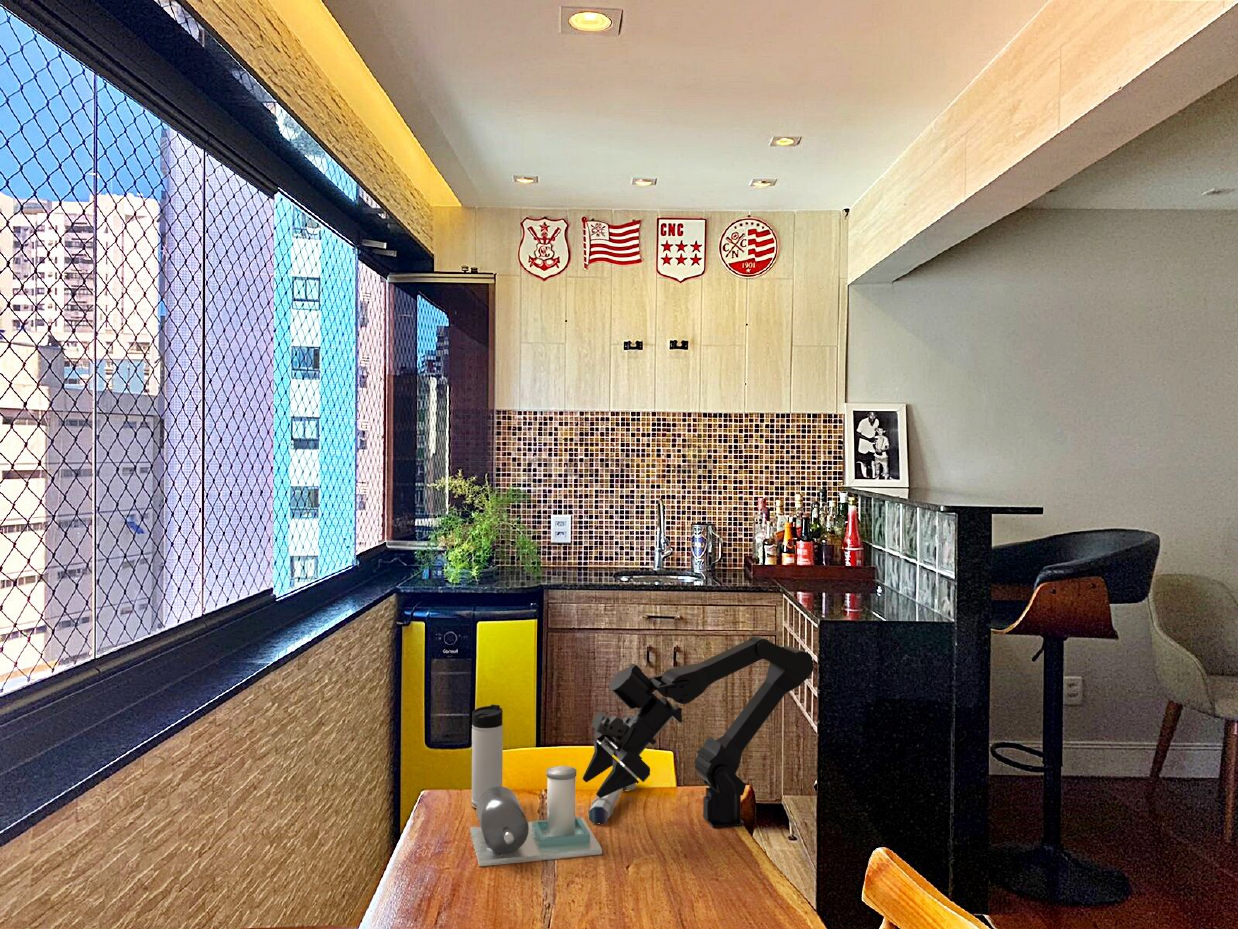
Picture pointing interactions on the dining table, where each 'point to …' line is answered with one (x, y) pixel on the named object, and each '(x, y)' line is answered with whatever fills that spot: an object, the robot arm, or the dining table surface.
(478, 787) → the travel mug
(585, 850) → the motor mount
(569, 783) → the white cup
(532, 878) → the dining table surface
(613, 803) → the light grey long piece
